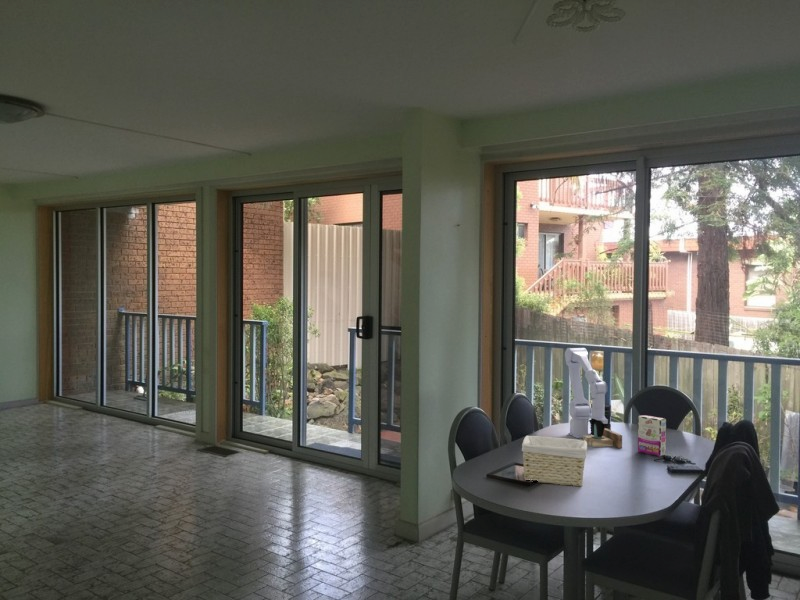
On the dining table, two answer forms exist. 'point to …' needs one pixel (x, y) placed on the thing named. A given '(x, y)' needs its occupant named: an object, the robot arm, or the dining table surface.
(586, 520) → the dining table surface
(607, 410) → the storage jar
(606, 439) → the light wooden square frame
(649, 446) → the candy bar box
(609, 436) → the backstop wall
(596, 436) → the dowel
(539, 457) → the storage basket
